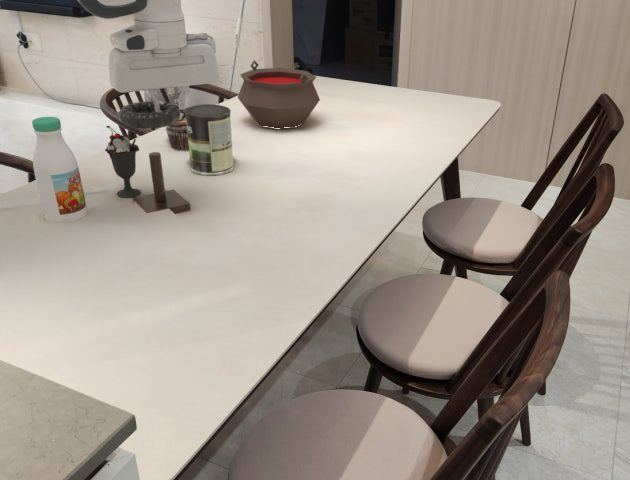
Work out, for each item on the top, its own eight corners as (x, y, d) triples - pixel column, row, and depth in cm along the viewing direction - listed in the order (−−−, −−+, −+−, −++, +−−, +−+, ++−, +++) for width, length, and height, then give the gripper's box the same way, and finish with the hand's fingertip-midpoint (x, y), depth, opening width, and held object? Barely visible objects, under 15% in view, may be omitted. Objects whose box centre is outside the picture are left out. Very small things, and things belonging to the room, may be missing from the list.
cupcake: (197, 138, 173) (193, 101, 168) (211, 148, 166) (207, 110, 161) (162, 143, 168) (157, 105, 163) (175, 153, 161) (170, 114, 156)
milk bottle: (45, 230, 120) (21, 126, 110) (45, 215, 126) (22, 115, 116) (89, 225, 123) (69, 123, 113) (87, 210, 129) (68, 112, 119)
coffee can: (189, 176, 148) (183, 116, 141) (191, 161, 157) (185, 104, 150) (234, 175, 150) (230, 115, 143) (233, 160, 159) (230, 103, 152)
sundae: (106, 193, 137) (94, 124, 130) (134, 185, 142) (124, 118, 134) (122, 202, 134) (111, 132, 126) (150, 193, 138) (141, 125, 131)
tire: (130, 133, 116) (128, 118, 115) (112, 118, 124) (110, 103, 123) (189, 125, 122) (187, 110, 121) (168, 111, 130) (167, 97, 128)
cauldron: (336, 124, 190) (337, 67, 182) (275, 139, 175) (273, 79, 166) (283, 107, 204) (281, 54, 196) (222, 121, 188) (217, 63, 180)
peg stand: (147, 219, 127) (139, 164, 121) (132, 203, 133) (124, 150, 127) (190, 210, 131) (184, 156, 126) (174, 195, 138) (168, 144, 132)
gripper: (207, 29, 125) (213, 100, 132) (100, 36, 114) (113, 112, 121) (221, 34, 121) (226, 107, 128) (110, 42, 110) (123, 121, 117)
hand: (170, 110), depth 124 cm, fingers closed on tire, 3 cm apart
